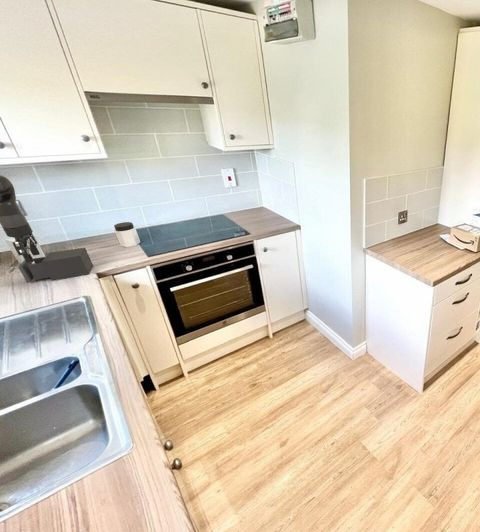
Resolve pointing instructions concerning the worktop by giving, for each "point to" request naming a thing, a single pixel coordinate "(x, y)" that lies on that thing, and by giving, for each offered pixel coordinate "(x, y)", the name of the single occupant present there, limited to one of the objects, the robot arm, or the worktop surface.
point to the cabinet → (67, 263)
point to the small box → (21, 258)
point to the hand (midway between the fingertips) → (33, 258)
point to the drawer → (31, 270)
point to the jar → (126, 234)
